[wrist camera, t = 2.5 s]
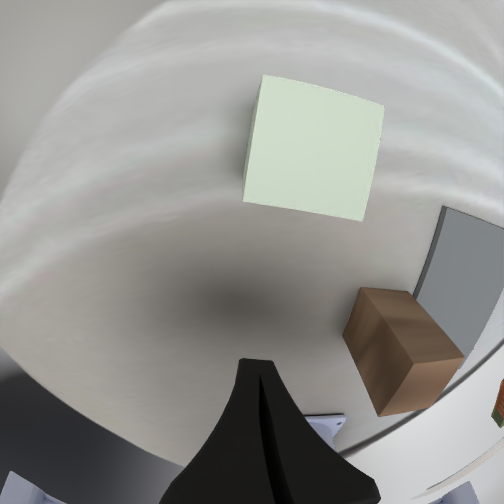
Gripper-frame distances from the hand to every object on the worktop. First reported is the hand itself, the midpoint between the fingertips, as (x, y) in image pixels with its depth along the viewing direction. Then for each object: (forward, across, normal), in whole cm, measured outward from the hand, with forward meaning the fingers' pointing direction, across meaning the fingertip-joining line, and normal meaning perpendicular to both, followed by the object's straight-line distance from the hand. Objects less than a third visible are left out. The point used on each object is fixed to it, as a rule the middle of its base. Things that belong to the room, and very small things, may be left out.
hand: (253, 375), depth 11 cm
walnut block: (+6, -8, 0) cm, 10 cm away
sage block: (+6, 0, -9) cm, 11 cm away
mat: (+6, -16, -1) cm, 17 cm away
